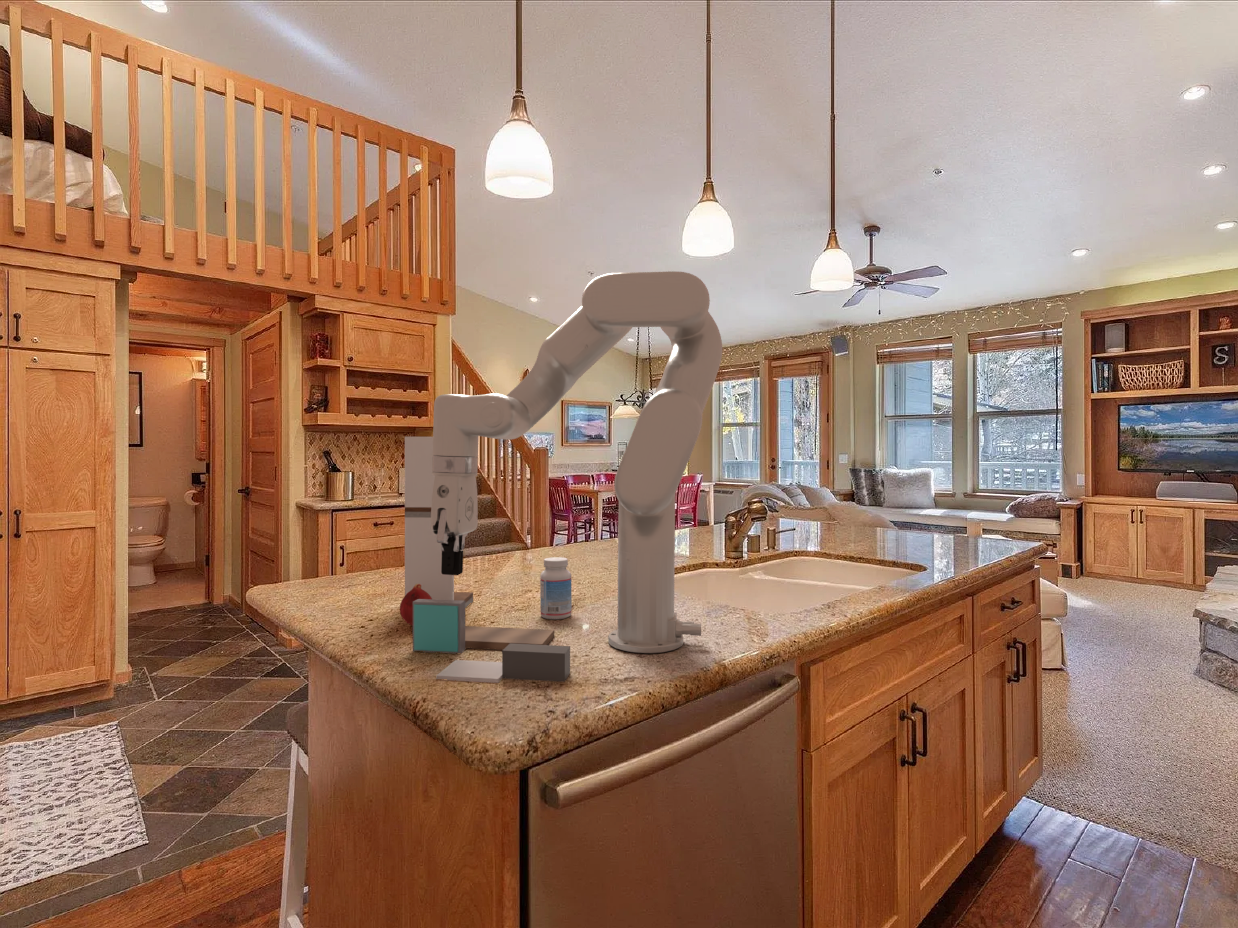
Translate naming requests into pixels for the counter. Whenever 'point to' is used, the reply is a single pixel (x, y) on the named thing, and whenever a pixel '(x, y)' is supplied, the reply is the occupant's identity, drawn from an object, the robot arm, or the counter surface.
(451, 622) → the tile
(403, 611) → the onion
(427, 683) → the counter surface
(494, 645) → the rest
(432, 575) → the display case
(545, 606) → the pill bottle
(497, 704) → the counter surface
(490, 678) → the stepped grey white block
